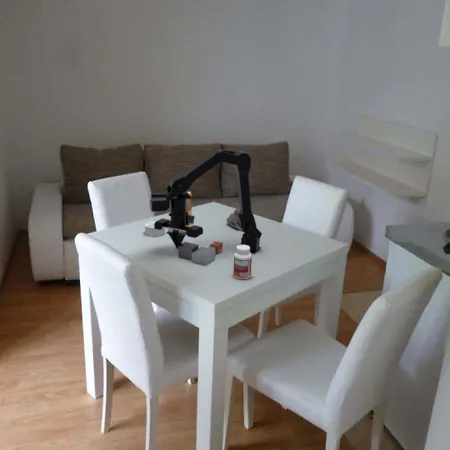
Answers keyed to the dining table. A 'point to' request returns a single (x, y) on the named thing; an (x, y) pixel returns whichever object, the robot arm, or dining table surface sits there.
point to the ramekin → (151, 231)
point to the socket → (186, 250)
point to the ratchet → (206, 253)
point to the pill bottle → (242, 262)
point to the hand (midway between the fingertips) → (178, 248)
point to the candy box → (189, 207)
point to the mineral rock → (233, 219)
